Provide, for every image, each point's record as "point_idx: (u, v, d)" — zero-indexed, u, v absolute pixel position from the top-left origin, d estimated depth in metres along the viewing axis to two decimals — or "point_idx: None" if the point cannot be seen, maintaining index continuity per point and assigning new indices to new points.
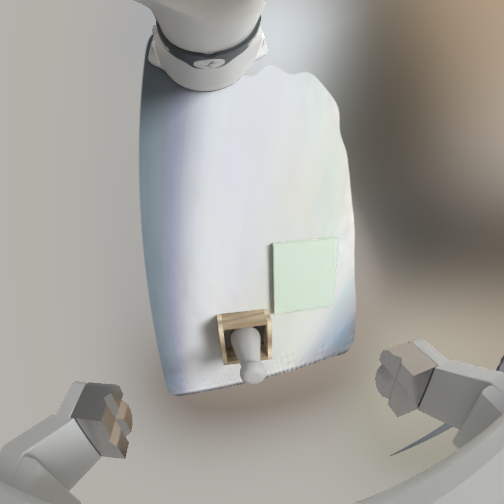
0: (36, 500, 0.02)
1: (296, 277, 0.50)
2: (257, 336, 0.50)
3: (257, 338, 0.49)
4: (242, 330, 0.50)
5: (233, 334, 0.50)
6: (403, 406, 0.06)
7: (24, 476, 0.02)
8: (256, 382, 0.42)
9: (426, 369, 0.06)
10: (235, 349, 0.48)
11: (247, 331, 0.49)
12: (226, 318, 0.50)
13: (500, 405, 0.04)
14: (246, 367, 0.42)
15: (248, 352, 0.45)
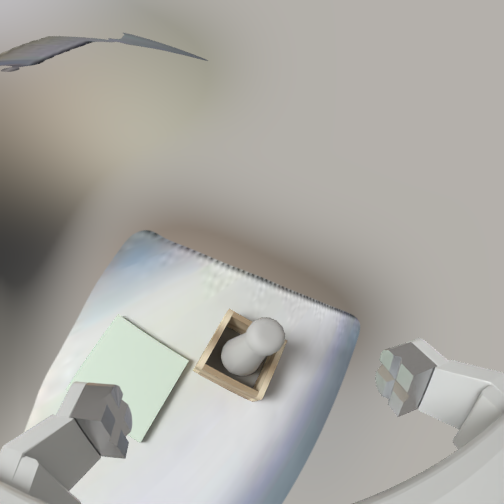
0: (36, 500, 0.02)
1: (136, 387, 0.31)
2: (226, 355, 0.35)
3: (227, 354, 0.34)
4: (238, 373, 0.35)
5: (251, 373, 0.35)
6: (404, 406, 0.06)
7: (24, 475, 0.02)
8: (271, 322, 0.30)
9: (426, 369, 0.06)
10: None
11: (233, 368, 0.34)
12: (245, 395, 0.34)
13: (500, 405, 0.04)
14: (267, 354, 0.28)
15: (251, 357, 0.31)
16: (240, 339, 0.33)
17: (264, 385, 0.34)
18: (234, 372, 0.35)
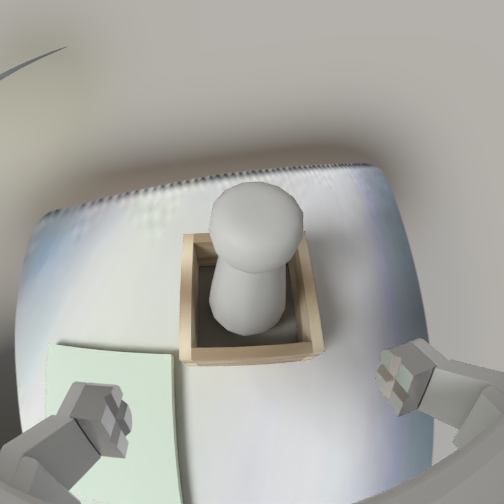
0: (36, 500, 0.02)
1: None
2: (218, 311, 0.18)
3: (219, 308, 0.18)
4: (258, 330, 0.19)
5: (279, 317, 0.20)
6: (403, 406, 0.06)
7: (24, 475, 0.02)
8: (249, 187, 0.12)
9: (426, 369, 0.06)
10: (284, 285, 0.18)
11: (244, 328, 0.18)
12: (293, 359, 0.19)
13: (500, 405, 0.04)
14: (283, 258, 0.12)
15: (259, 288, 0.15)
16: (219, 267, 0.16)
17: (314, 324, 0.18)
18: (251, 332, 0.19)
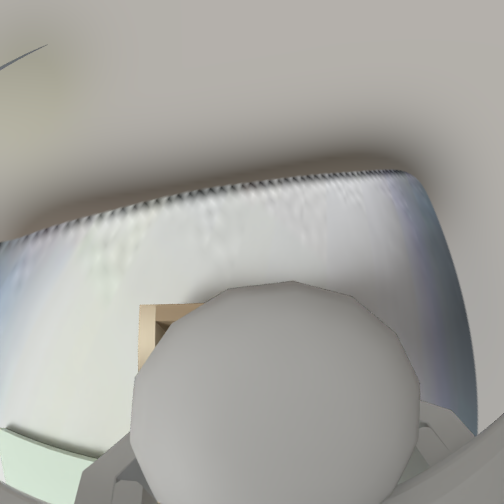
0: (36, 500, 0.02)
1: None
2: None
3: None
4: None
5: None
6: None
7: None
8: (258, 332, 0.03)
9: None
10: None
11: None
12: None
13: (431, 455, 0.03)
14: None
15: None
16: None
17: None
18: None
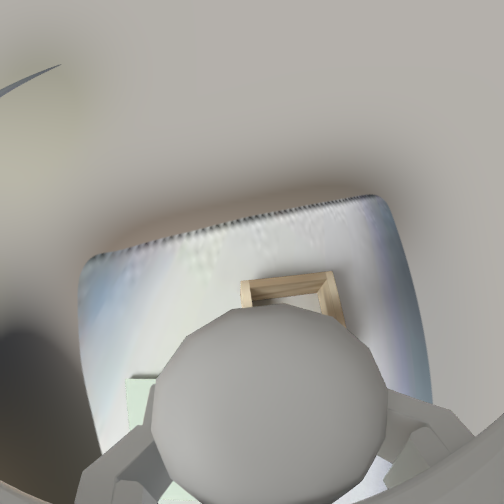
0: (36, 500, 0.02)
1: None
2: None
3: None
4: None
5: None
6: None
7: None
8: (254, 346, 0.04)
9: None
10: None
11: None
12: None
13: (431, 455, 0.03)
14: None
15: None
16: None
17: None
18: None
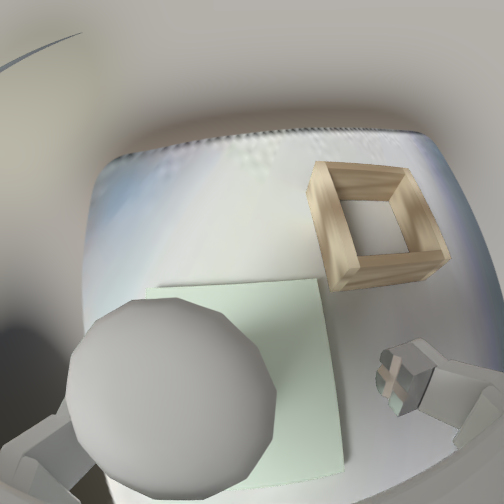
0: (36, 500, 0.02)
1: None
2: None
3: None
4: None
5: None
6: (404, 406, 0.06)
7: (24, 475, 0.02)
8: (137, 332, 0.04)
9: (426, 369, 0.06)
10: None
11: None
12: (422, 273, 0.19)
13: (500, 405, 0.04)
14: None
15: None
16: None
17: (438, 237, 0.18)
18: None
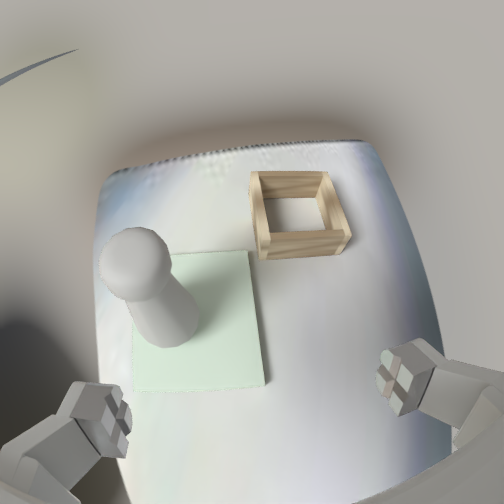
0: (36, 500, 0.02)
1: (212, 319, 0.25)
2: (137, 327, 0.20)
3: (136, 325, 0.20)
4: (171, 344, 0.21)
5: (191, 333, 0.22)
6: (404, 406, 0.06)
7: (24, 475, 0.02)
8: (126, 234, 0.14)
9: (426, 369, 0.06)
10: (186, 306, 0.20)
11: (157, 342, 0.20)
12: (331, 248, 0.30)
13: (500, 405, 0.04)
14: (148, 292, 0.14)
15: (151, 311, 0.17)
16: None
17: (342, 220, 0.29)
18: (166, 345, 0.21)
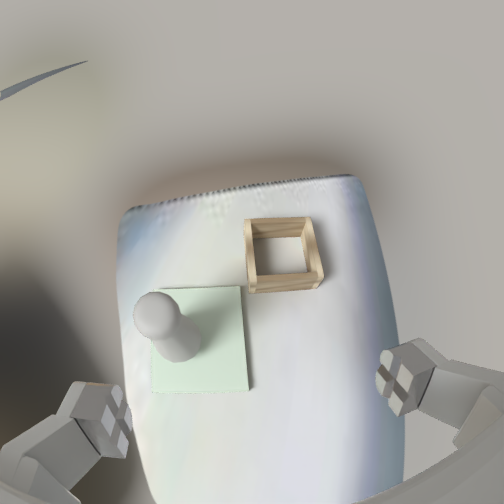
0: (36, 500, 0.02)
1: (211, 340, 0.33)
2: (156, 348, 0.29)
3: (156, 347, 0.28)
4: (181, 360, 0.29)
5: (195, 352, 0.30)
6: (404, 406, 0.06)
7: (24, 475, 0.02)
8: (150, 298, 0.22)
9: (426, 369, 0.06)
10: (191, 336, 0.28)
11: (171, 359, 0.28)
12: (307, 285, 0.37)
13: (500, 405, 0.04)
14: (167, 336, 0.22)
15: (167, 343, 0.25)
16: None
17: (317, 263, 0.36)
18: (177, 361, 0.29)
